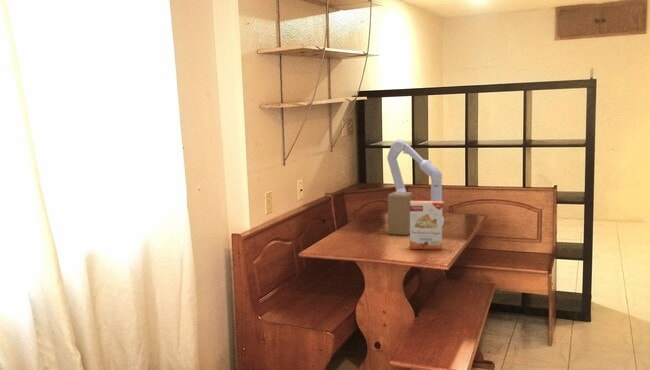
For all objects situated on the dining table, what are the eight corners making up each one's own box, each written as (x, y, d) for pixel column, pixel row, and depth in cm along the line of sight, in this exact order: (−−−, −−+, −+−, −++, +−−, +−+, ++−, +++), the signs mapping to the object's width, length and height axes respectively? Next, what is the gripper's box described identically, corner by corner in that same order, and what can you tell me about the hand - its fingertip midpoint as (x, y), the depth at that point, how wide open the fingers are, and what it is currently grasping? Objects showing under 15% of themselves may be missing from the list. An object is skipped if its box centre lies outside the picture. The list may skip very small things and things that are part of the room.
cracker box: (409, 249, 259) (409, 202, 256) (409, 246, 265) (409, 200, 262) (442, 250, 257) (442, 202, 254) (441, 246, 263) (442, 200, 260)
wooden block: (413, 231, 294) (413, 192, 291) (407, 236, 285) (407, 195, 282) (394, 230, 298) (393, 191, 295) (387, 234, 289) (387, 194, 286)
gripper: (441, 195, 303) (441, 221, 305) (446, 191, 316) (446, 216, 318) (427, 195, 306) (427, 220, 307) (433, 191, 319) (433, 215, 321)
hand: (436, 218), depth 313 cm, fingers closed
